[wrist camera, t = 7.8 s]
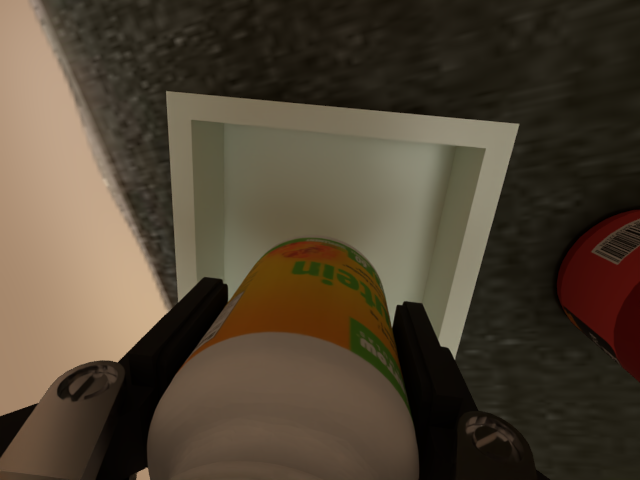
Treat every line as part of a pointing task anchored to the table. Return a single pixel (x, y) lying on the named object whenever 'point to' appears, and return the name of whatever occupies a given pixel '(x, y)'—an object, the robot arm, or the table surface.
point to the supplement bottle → (292, 379)
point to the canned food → (606, 287)
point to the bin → (337, 193)
